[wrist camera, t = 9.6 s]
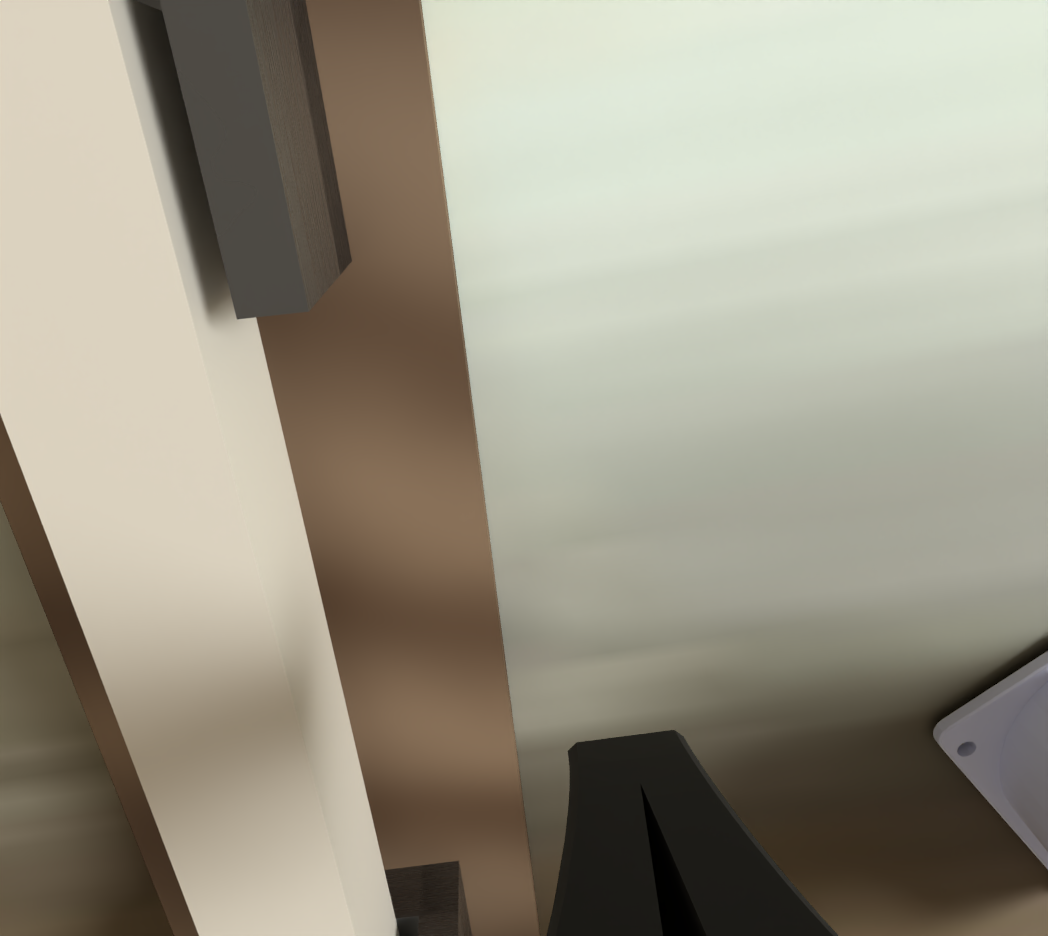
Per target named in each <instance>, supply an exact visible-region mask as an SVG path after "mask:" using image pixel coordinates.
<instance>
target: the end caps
mask: <svg viewBox="0 0 1048 936" xmlns="http://www.w3.org/2000/svg"><path fill="white" fill-rule="evenodd" d="M135 1H137V2H140V3H143V4H145V5H148V6H151V7H153V8H156V9H159V10H161V11H162V12H163V17H164V21H165V25H166V29H167V33H168V37H169V41H170V45H171V50H172V54H173V58H174V62H175V66H176V70H177V74H178V78H179V83H180V87H181V91H182V95H183V99H184V103H185V107H186V112H187V116H188V120H189V124H190V128H191V132H192V136H193V140H194V145H195V149H196V153H197V157H198V161H199V165H200V169H201V173H202V178H203V182H204V186H205V190H206V194H207V198H208V202H209V206H210V211H211V215H212V219H213V223H214V227H215V231H216V235H217V240H218V244H219V248H220V252H221V256H222V260H223V264H224V268H225V273H226V277H227V281H228V285H229V289H230V293H231V297H232V301H233V306H234V310H235V314H236V318H237V319H246V318H255V317H264V316H273V315H282V314H292V313H301V312H309V311H310V310H311V309H312V307H313V306H314V305H315V304H316V303H317V302H318V300H319V299H320V298H321V297H322V296H323V295H324V293H325V292H326V291H327V290H328V289H329V288H330V286H331V285H332V284H333V283H334V282H335V281H336V279H337V278H338V277H339V276H340V275H341V274H342V272H343V271H344V270H345V269H346V268H347V266H348V265H349V264H350V263H351V262H352V258H351V253H350V247H349V242H348V236H347V230H346V225H345V219H344V213H343V208H342V202H341V197H340V191H339V185H338V180H337V174H336V169H335V163H334V157H333V152H332V146H331V141H330V135H329V129H328V124H327V118H326V113H325V107H324V101H323V96H322V90H321V85H320V79H319V73H318V68H317V62H316V56H315V51H314V45H313V40H312V34H311V28H310V23H309V17H308V12H307V6H306V0H135ZM384 871H385V875H386V879H387V884H388V888H389V892H390V897H391V901H392V905H393V910H394V914H395V918H396V923H397V927H398V931H399V935H400V936H472V931H471V926H470V920H469V914H468V909H467V903H466V898H465V892H464V886H463V881H462V875H461V870H460V864H459V861H452V862H444V863H436V864H428V865H420V866H412V867H404V868H396V869H388V870H384Z"/></svg>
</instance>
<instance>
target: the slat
mask: <svg viewBox="0 0 1048 936" xmlns="http://www.w3.org/2000/svg"><path fill="white" fill-rule="evenodd" d="M0 414H1V417H2V420H3V422H4V425H5V428H6V430H7V433H8V435H9V438H10V441H11V443H12V446H13V449H14V451H15V454H16V456H17V459H18V462H19V464H20V467H21V470H22V472H23V475H24V477H25V480H26V483H27V485H28V488H29V491H30V493H31V496H32V498H33V501H34V504H35V506H36V509H37V512H38V514H39V517H40V520H41V522H42V525H43V527H44V530H45V533H46V535H47V538H48V541H49V543H50V546H51V548H52V551H53V554H54V556H55V559H56V562H57V564H58V567H59V569H60V572H61V575H62V577H63V580H64V583H65V585H66V588H67V590H68V593H69V596H70V598H71V601H72V604H73V606H74V609H75V611H76V614H77V617H78V619H79V622H80V625H81V627H82V630H83V632H84V635H85V638H86V640H87V643H88V646H89V648H90V651H91V653H92V656H93V659H94V661H95V664H96V667H97V669H98V672H99V674H100V677H101V680H102V682H103V685H104V688H105V690H106V693H107V695H108V698H109V701H110V703H111V706H112V709H113V711H114V714H115V716H116V719H117V722H118V724H119V727H120V730H121V732H122V735H123V737H124V740H125V743H126V745H127V748H128V751H129V753H130V756H131V758H132V761H133V764H134V766H135V769H136V772H137V774H138V777H139V780H140V782H141V785H142V787H143V790H144V793H145V795H146V798H147V801H148V803H149V806H150V808H151V811H152V814H153V816H154V819H155V822H156V824H157V827H158V829H159V832H160V835H161V837H162V840H163V843H164V845H165V848H166V850H167V853H168V856H169V858H170V861H171V864H172V866H173V869H174V871H175V874H176V877H177V879H178V882H179V885H180V887H181V890H182V892H183V895H184V898H185V900H186V903H187V906H188V908H189V911H190V913H191V916H192V919H193V921H194V924H195V927H196V929H197V932H198V934H199V936H400V935H399V931H398V927H397V923H396V918H395V914H394V910H393V905H392V901H391V897H390V892H389V888H388V884H387V879H386V875H385V871H384V866H383V862H382V858H381V854H380V849H379V845H378V841H377V836H376V832H375V828H374V823H373V819H372V815H371V810H370V806H369V802H368V798H367V793H366V789H365V785H364V780H363V776H362V772H361V767H360V763H359V759H358V754H357V750H356V746H355V742H354V737H353V733H352V729H351V724H350V720H349V716H348V711H347V707H346V703H345V698H344V694H343V690H342V686H341V681H340V677H339V673H338V668H337V664H336V660H335V655H334V651H333V647H332V642H331V638H330V634H329V630H328V625H327V621H326V617H325V612H324V608H323V604H322V599H321V595H320V591H319V586H318V582H317V578H316V573H315V569H314V565H313V561H312V556H311V552H310V548H309V543H308V539H307V535H306V530H305V526H304V522H303V517H302V513H301V509H300V505H299V500H298V496H297V492H296V487H295V483H294V479H293V474H292V470H291V466H290V461H289V457H288V453H287V449H286V444H285V440H284V436H283V431H282V427H281V423H280V418H279V414H278V410H277V405H276V401H275V397H274V393H273V388H272V384H271V380H270V375H269V371H268V367H267V362H266V358H265V354H264V349H263V345H262V341H261V337H260V332H259V328H258V324H257V319H256V317H255V318H246V319H237V318H236V314H235V310H234V306H233V301H232V297H231V293H230V289H229V285H228V281H227V277H226V273H225V268H224V264H223V260H222V256H221V252H220V248H219V244H218V240H217V235H216V231H215V227H214V223H213V219H212V215H211V211H210V206H209V202H208V198H207V194H206V190H205V186H204V182H203V178H202V173H201V169H200V165H199V161H198V157H197V153H196V149H195V145H194V140H193V136H192V132H191V128H190V124H189V120H188V116H187V112H186V107H185V103H184V99H183V95H182V91H181V87H180V83H179V78H178V74H177V70H176V66H175V62H174V58H173V54H172V50H171V45H170V41H169V37H168V33H167V29H166V25H165V21H164V17H163V12H162V11H161V10H159V9H156V8H153V7H151V6H148V5H145V4H143V3H140V2H137V1H135V0H0Z"/></svg>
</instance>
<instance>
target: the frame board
mask: <svg viewBox="0 0 1048 936" xmlns="http://www.w3.org/2000/svg"><path fill="white" fill-rule="evenodd" d="M306 6H307V12H308V17H309V23H310V28H311V34H312V40H313V45H314V51H315V56H316V62H317V68H318V73H319V79H320V85H321V90H322V96H323V101H324V107H325V113H326V118H327V124H328V129H329V135H330V141H331V146H332V152H333V157H334V163H335V169H336V174H337V180H338V185H339V191H340V197H341V202H342V208H343V213H344V219H345V225H346V230H347V236H348V242H349V247H350V253H351V258H352V262H351V263H350V264H349V265H348V266H347V268H346V269H345V270H344V271H343V272H342V274H341V275H340V276H339V277H338V278H337V279H336V281H335V282H334V283H333V284H332V285H331V286H330V288H329V289H328V290H327V291H326V292H325V293H324V295H323V296H322V297H321V298H320V299H319V300H318V302H317V303H316V304H315V305H314V306H313V307H312V309H311V310H310V311H309V312H301V313H292V314H282V315H273V316H264V317H256V319H257V324H258V328H259V332H260V337H261V341H262V345H263V349H264V354H265V358H266V362H267V367H268V371H269V375H270V380H271V384H272V388H273V393H274V397H275V401H276V405H277V410H278V414H279V418H280V423H281V427H282V431H283V436H284V440H285V444H286V449H287V453H288V457H289V461H290V466H291V470H292V474H293V479H294V483H295V487H296V492H297V496H298V500H299V505H300V509H301V513H302V517H303V522H304V526H305V530H306V535H307V539H308V543H309V548H310V552H311V556H312V561H313V565H314V569H315V573H316V578H317V582H318V586H319V591H320V595H321V599H322V604H323V608H324V612H325V617H326V621H327V625H328V630H329V634H330V638H331V642H332V647H333V651H334V655H335V660H336V664H337V668H338V673H339V677H340V681H341V686H342V690H343V694H344V698H345V703H346V707H347V711H348V716H349V720H350V724H351V729H352V733H353V737H354V742H355V746H356V750H357V754H358V759H359V763H360V767H361V772H362V776H363V780H364V785H365V789H366V793H367V798H368V802H369V806H370V810H371V815H372V819H373V823H374V828H375V832H376V836H377V841H378V845H379V849H380V854H381V858H382V862H383V866H384V870H388V869H396V868H404V867H412V866H420V865H428V864H436V863H444V862H452V861H459V864H460V870H461V875H462V881H463V886H464V892H465V898H466V903H467V909H468V914H469V920H470V926H471V931H472V936H540V928H539V920H538V912H537V905H536V897H535V889H534V881H533V873H532V865H531V858H530V850H529V842H528V834H527V826H526V818H525V811H524V803H523V795H522V787H521V779H520V771H519V764H518V756H517V748H516V740H515V732H514V725H513V717H512V709H511V701H510V693H509V685H508V678H507V670H506V662H505V654H504V646H503V638H502V631H501V623H500V615H499V607H498V599H497V591H496V584H495V576H494V568H493V560H492V552H491V545H490V537H489V529H488V521H487V513H486V505H485V498H484V490H483V482H482V474H481V466H480V458H479V451H478V443H477V435H476V427H475V419H474V411H473V404H472V396H471V388H470V380H469V372H468V365H467V357H466V349H465V341H464V333H463V325H462V318H461V310H460V302H459V294H458V286H457V278H456V271H455V263H454V255H453V247H452V239H451V231H450V224H449V216H448V208H447V200H446V192H445V185H444V177H443V169H442V161H441V153H440V145H439V138H438V130H437V122H436V114H435V106H434V98H433V91H432V83H431V75H430V67H429V59H428V51H427V44H426V36H425V28H424V20H423V12H422V5H421V0H306ZM0 501H1V504H2V506H3V509H4V511H5V514H6V516H7V519H8V521H9V524H10V526H11V529H12V531H13V534H14V536H15V539H16V541H17V544H18V546H19V549H20V551H21V554H22V556H23V559H24V561H25V564H26V566H27V569H28V571H29V574H30V576H31V579H32V581H33V584H34V586H35V589H36V591H37V594H38V596H39V599H40V601H41V604H42V606H43V609H44V611H45V614H46V616H47V619H48V621H49V624H50V626H51V629H52V631H53V634H54V636H55V639H56V641H57V644H58V646H59V649H60V651H61V654H62V656H63V659H64V661H65V664H66V666H67V669H68V671H69V674H70V676H71V679H72V681H73V684H74V686H75V689H76V691H77V694H78V696H79V699H80V701H81V704H82V706H83V709H84V711H85V714H86V716H87V719H88V721H89V724H90V726H91V729H92V731H93V734H94V736H95V739H96V741H97V744H98V746H99V749H100V751H101V754H102V756H103V759H104V761H105V764H106V766H107V769H108V771H109V774H110V776H111V779H112V781H113V784H114V786H115V789H116V791H117V794H118V796H119V799H120V801H121V804H122V806H123V809H124V811H125V814H126V816H127V819H128V822H129V824H130V827H131V829H132V832H133V834H134V837H135V839H136V842H137V844H138V847H139V849H140V852H141V854H142V857H143V859H144V862H145V864H146V867H147V869H148V872H149V874H150V877H151V879H152V882H153V884H154V887H155V889H156V892H157V894H158V897H159V899H160V902H161V904H162V907H163V909H164V912H165V914H166V917H167V919H168V922H169V924H170V927H171V929H172V932H173V934H174V936H199V934H198V932H197V929H196V927H195V924H194V921H193V919H192V916H191V913H190V911H189V908H188V906H187V903H186V900H185V898H184V895H183V892H182V890H181V887H180V885H179V882H178V879H177V877H176V874H175V871H174V869H173V866H172V864H171V861H170V858H169V856H168V853H167V850H166V848H165V845H164V843H163V840H162V837H161V835H160V832H159V829H158V827H157V824H156V822H155V819H154V816H153V814H152V811H151V808H150V806H149V803H148V801H147V798H146V795H145V793H144V790H143V787H142V785H141V782H140V780H139V777H138V774H137V772H136V769H135V766H134V764H133V761H132V758H131V756H130V753H129V751H128V748H127V745H126V743H125V740H124V737H123V735H122V732H121V730H120V727H119V724H118V722H117V719H116V716H115V714H114V711H113V709H112V706H111V703H110V701H109V698H108V695H107V693H106V690H105V688H104V685H103V682H102V680H101V677H100V674H99V672H98V669H97V667H96V664H95V661H94V659H93V656H92V653H91V651H90V648H89V646H88V643H87V640H86V638H85V635H84V632H83V630H82V627H81V625H80V622H79V619H78V617H77V614H76V611H75V609H74V606H73V604H72V601H71V598H70V596H69V593H68V590H67V588H66V585H65V583H64V580H63V577H62V575H61V572H60V569H59V567H58V564H57V562H56V559H55V556H54V554H53V551H52V548H51V546H50V543H49V541H48V538H47V535H46V533H45V530H44V527H43V525H42V522H41V520H40V517H39V514H38V512H37V509H36V506H35V504H34V501H33V498H32V496H31V493H30V491H29V488H28V485H27V483H26V480H25V477H24V475H23V472H22V470H21V467H20V464H19V462H18V459H17V456H16V454H15V451H14V449H13V446H12V443H11V441H10V438H9V435H8V433H7V430H6V428H5V425H4V422H3V420H2V417H1V414H0Z"/></svg>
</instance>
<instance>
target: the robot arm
mask: <svg viewBox="0 0 1048 936" xmlns="http://www.w3.org/2000/svg"><path fill="white" fill-rule="evenodd" d="M933 736H934V738H935V740H936V742H937V743H938V744H939V746H940V747H941V748H942V749H943V750H944V752H945V753H946V754H947V755H948V756H949V757H950V758H951V760H952V761H953V762H954V763H955V764H956V765H957V766H958V768H959V769H960V770H961V771H962V772H963V773H964V774H965V776H966V777H967V778H968V779H969V780H970V781H971V782H972V784H973V785H974V786H975V787H976V788H977V789H978V790H979V792H980V793H981V794H982V795H983V796H984V797H985V798H986V800H987V801H988V802H989V803H990V804H991V805H992V806H993V808H994V809H995V810H996V811H997V812H998V813H999V814H1000V816H1001V817H1002V818H1003V819H1004V820H1005V821H1006V822H1007V824H1008V825H1009V826H1010V827H1011V828H1012V829H1013V830H1014V832H1015V833H1016V834H1017V835H1018V836H1019V837H1020V838H1021V840H1022V841H1023V842H1024V843H1025V844H1026V845H1027V846H1028V848H1029V849H1030V850H1031V851H1032V852H1033V853H1034V854H1035V856H1036V857H1037V858H1038V859H1039V860H1040V861H1041V862H1042V864H1043V865H1044V866H1045V867H1046V868H1047V869H1048V651H1047V652H1045V653H1044V654H1042V655H1040V656H1039V657H1037V658H1036V659H1034V660H1033V661H1031V662H1030V663H1028V664H1027V665H1025V666H1023V667H1022V668H1020V669H1019V670H1017V671H1016V672H1014V673H1013V674H1011V675H1010V676H1008V677H1007V678H1005V679H1003V680H1002V681H1000V682H999V683H997V684H996V685H994V686H993V687H991V688H990V689H988V690H987V691H985V692H983V693H982V694H980V695H979V696H977V697H976V698H974V699H973V700H971V701H970V702H968V703H966V704H965V705H963V706H962V707H960V708H959V709H957V710H956V711H954V712H953V713H951V714H950V715H948V716H946V717H945V718H943V719H942V720H941V721H940V722H938V723H937V725H936V726H935V728H934V730H933ZM962 743H964V744H962ZM961 744H962V745H961ZM568 756H569V765H570V792H569V807H568V817H567V826H566V835H565V843H564V848H563V854H562V860H561V866H560V872H559V878H558V884H557V890H556V895H555V900H554V905H553V910H552V915H551V919H550V923H549V927H548V932H547V936H838V935H837V933H836V932H835V931H834V930H833V929H832V928H831V927H830V926H829V925H828V924H827V923H826V921H825V920H824V919H823V918H822V917H821V916H820V915H819V914H818V913H817V912H816V910H815V909H814V908H813V907H812V906H811V905H810V904H809V902H808V901H807V900H806V899H805V898H804V897H803V895H802V894H801V893H800V892H799V891H798V890H797V889H796V887H795V886H794V885H793V884H792V883H791V882H790V880H789V879H788V878H787V877H786V875H785V874H784V873H783V872H782V871H781V869H780V868H779V867H778V866H777V865H776V863H775V862H774V861H773V860H772V858H771V857H770V856H769V855H768V854H767V852H766V851H765V850H764V849H763V847H762V846H761V845H760V844H759V843H758V841H757V840H756V839H755V838H754V836H753V835H752V834H751V833H750V831H749V830H748V829H747V827H746V826H745V825H744V824H743V822H742V821H741V820H740V818H739V817H738V816H737V814H736V813H735V812H734V810H733V809H732V808H731V806H730V805H729V804H728V802H727V801H726V800H725V798H724V797H723V795H722V794H721V793H720V791H719V790H718V789H717V787H716V786H715V784H714V783H713V782H712V780H711V779H710V777H709V776H708V774H707V773H706V771H705V770H704V768H703V767H702V766H701V764H700V763H699V761H698V759H697V758H696V756H695V755H694V753H693V752H692V750H691V749H690V747H689V745H688V744H687V742H686V740H685V739H684V737H683V736H682V735H681V734H679V733H678V732H676V731H675V730H670V731H662V732H655V733H647V734H639V735H632V736H624V737H616V738H608V739H601V740H593V741H585V742H577V743H576V744H575V745H574V746H573V747H572V748H571V749H570V750H569V751H568Z"/></svg>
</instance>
